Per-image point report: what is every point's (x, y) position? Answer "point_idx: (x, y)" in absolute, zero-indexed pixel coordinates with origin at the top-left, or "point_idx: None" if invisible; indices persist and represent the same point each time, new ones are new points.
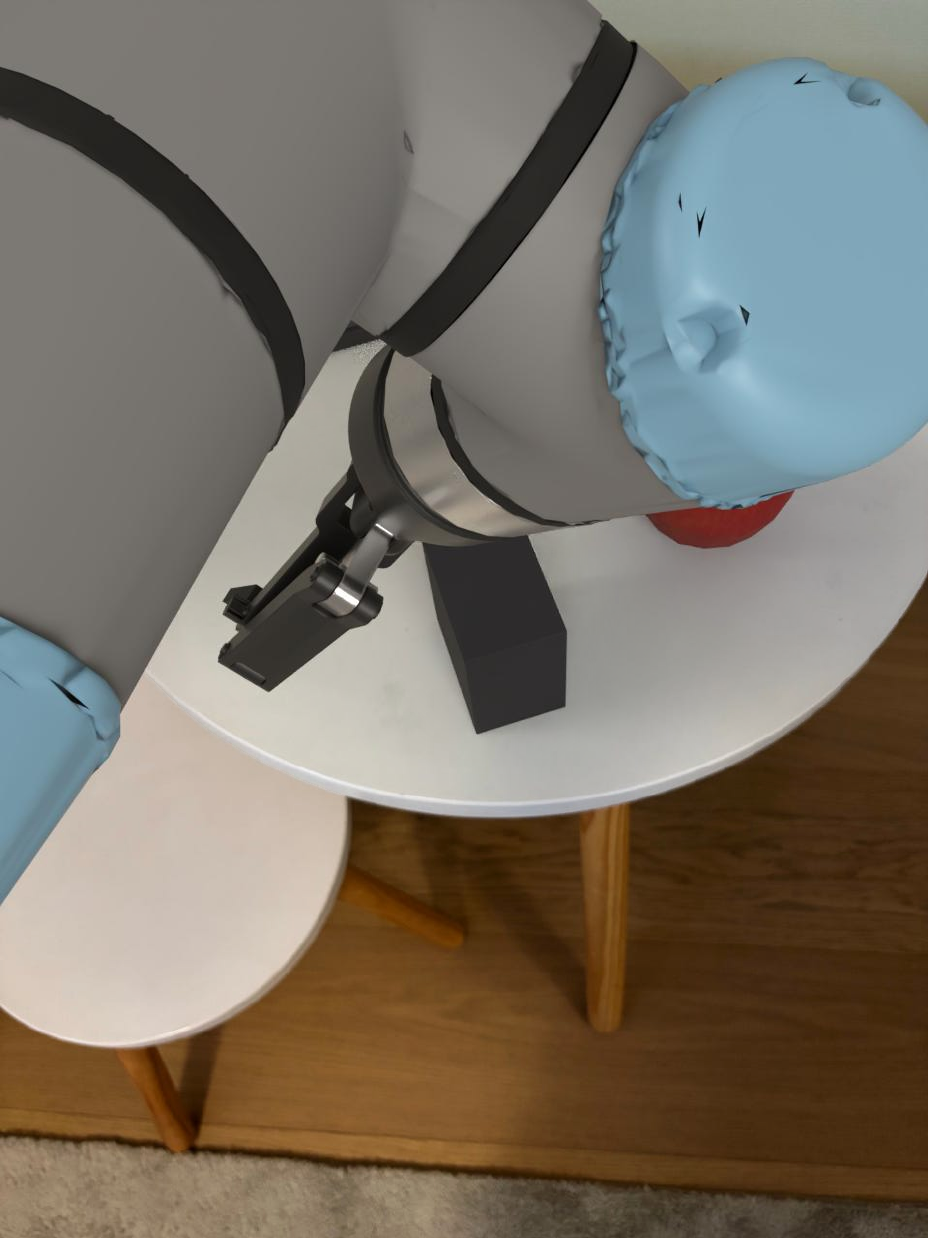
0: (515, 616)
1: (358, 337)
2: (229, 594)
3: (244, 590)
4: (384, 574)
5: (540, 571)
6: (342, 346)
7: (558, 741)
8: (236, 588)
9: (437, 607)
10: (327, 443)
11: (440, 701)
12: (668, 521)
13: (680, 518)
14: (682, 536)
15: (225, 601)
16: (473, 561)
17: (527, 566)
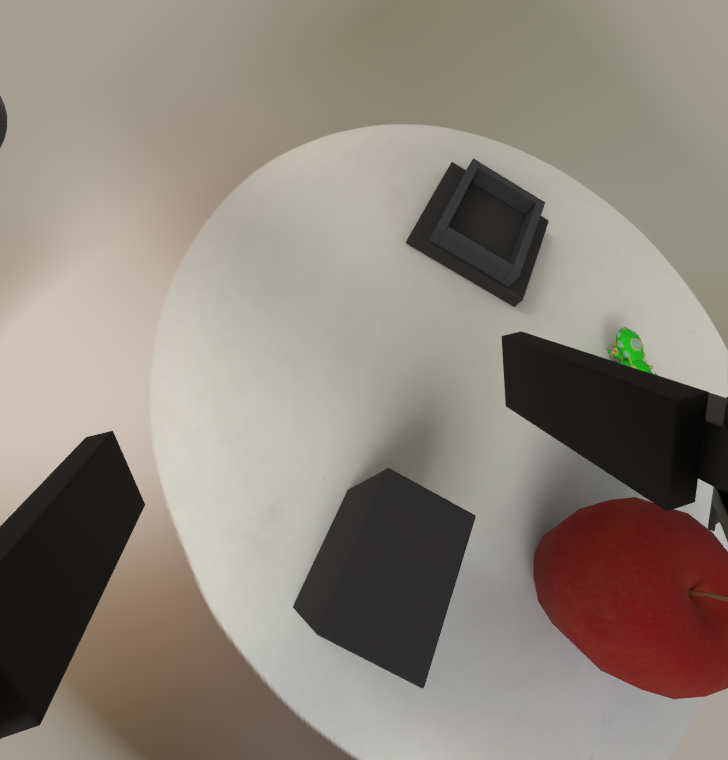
0: (395, 626)
1: (464, 271)
2: (87, 447)
3: (18, 529)
4: (345, 425)
5: (448, 598)
6: (450, 267)
7: (339, 670)
8: (83, 462)
9: (351, 502)
10: (391, 311)
11: (294, 554)
12: (557, 605)
13: (572, 622)
14: (551, 612)
15: (74, 450)
16: (406, 533)
17: (442, 582)
